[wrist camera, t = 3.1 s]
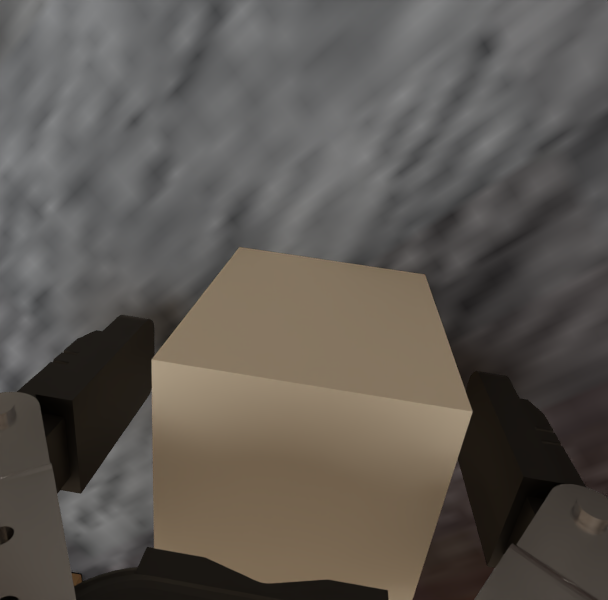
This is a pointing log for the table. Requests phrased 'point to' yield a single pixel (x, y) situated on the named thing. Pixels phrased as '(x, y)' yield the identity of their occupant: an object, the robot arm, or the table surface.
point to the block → (307, 423)
